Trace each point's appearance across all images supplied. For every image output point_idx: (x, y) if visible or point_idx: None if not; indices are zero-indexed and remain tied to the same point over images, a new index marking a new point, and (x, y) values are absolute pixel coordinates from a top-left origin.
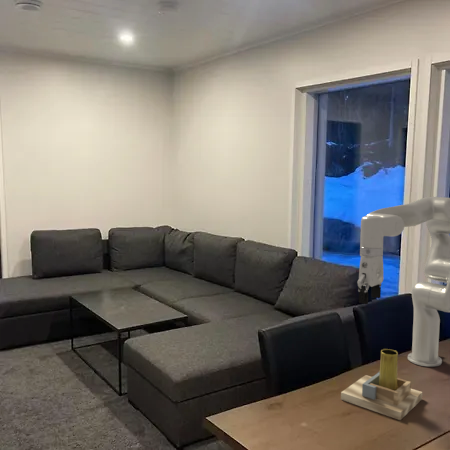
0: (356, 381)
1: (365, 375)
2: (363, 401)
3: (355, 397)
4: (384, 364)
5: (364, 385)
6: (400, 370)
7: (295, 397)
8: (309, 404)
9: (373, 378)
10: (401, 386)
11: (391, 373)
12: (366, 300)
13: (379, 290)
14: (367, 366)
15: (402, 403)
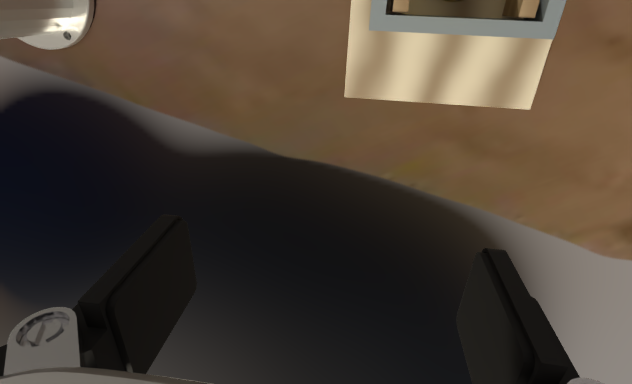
0: (415, 101)
1: (349, 95)
2: None
3: (547, 52)
4: None
5: (555, 29)
6: (182, 27)
7: (567, 211)
8: (597, 164)
9: (475, 23)
10: None
11: None
12: (512, 283)
13: (137, 276)
14: (233, 130)
15: None
